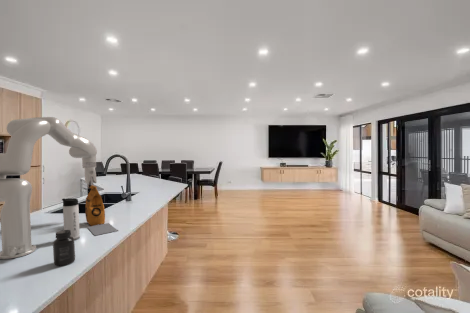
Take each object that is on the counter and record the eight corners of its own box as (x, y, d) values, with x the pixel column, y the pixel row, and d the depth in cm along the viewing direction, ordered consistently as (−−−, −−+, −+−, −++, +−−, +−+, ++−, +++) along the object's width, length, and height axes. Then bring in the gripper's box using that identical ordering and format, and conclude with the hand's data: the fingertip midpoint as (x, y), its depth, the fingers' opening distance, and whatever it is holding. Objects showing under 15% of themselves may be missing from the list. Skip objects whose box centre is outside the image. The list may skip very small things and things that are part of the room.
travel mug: (65, 238, 126) (63, 197, 125) (80, 236, 128) (79, 196, 127) (61, 242, 120) (60, 200, 119) (78, 240, 122) (76, 198, 122)
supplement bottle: (79, 258, 101) (77, 228, 101) (68, 266, 94) (67, 234, 94) (61, 259, 101) (60, 229, 101) (49, 267, 94) (47, 234, 94)
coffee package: (86, 227, 143) (85, 188, 143) (85, 222, 153) (83, 185, 153) (106, 224, 149) (105, 186, 148) (103, 219, 159) (102, 184, 158)
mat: (118, 231, 135) (118, 230, 135) (94, 235, 128) (94, 235, 128) (108, 223, 150) (108, 223, 150) (87, 227, 143) (87, 227, 143)
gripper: (98, 165, 156) (100, 195, 157) (93, 164, 168) (94, 192, 168) (84, 166, 151) (86, 197, 152) (80, 165, 163) (81, 193, 163)
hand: (90, 194), depth 160 cm, fingers closed
